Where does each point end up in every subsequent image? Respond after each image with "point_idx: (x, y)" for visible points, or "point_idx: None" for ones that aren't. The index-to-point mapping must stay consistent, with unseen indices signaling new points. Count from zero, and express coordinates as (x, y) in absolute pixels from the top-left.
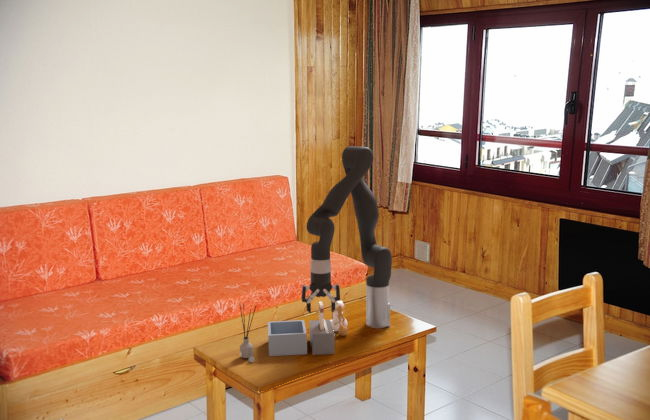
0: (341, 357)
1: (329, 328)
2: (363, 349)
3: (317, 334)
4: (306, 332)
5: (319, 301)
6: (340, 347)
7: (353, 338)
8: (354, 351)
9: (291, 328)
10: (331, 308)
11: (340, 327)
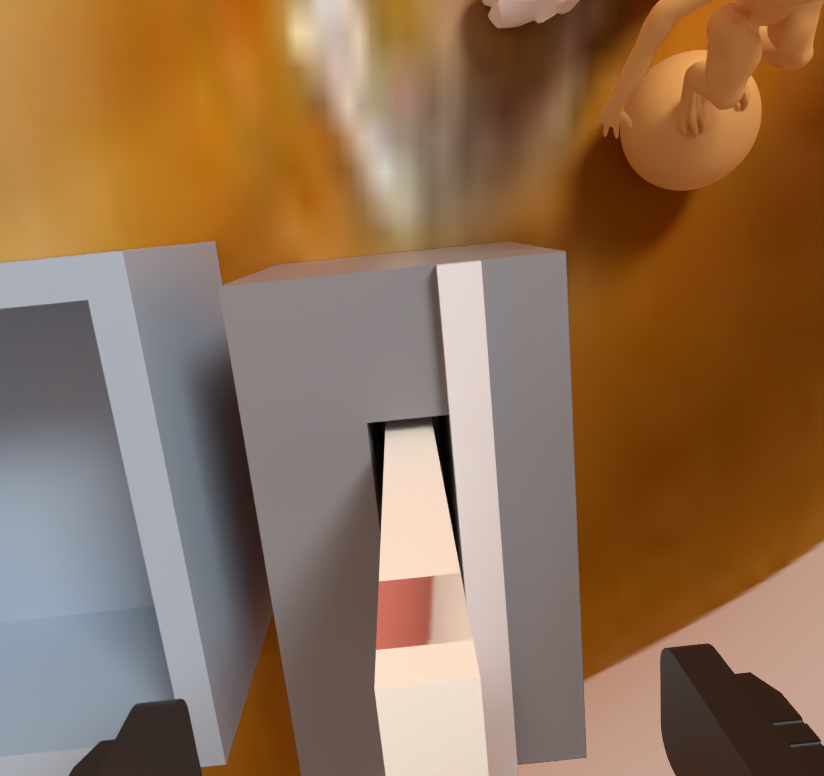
0: (587, 669)
1: (534, 607)
2: (814, 510)
3: (368, 774)
4: (218, 731)
5: (396, 686)
6: (599, 460)
7: (767, 225)
8: (721, 552)
9: None
10: (693, 765)
11: (676, 136)
